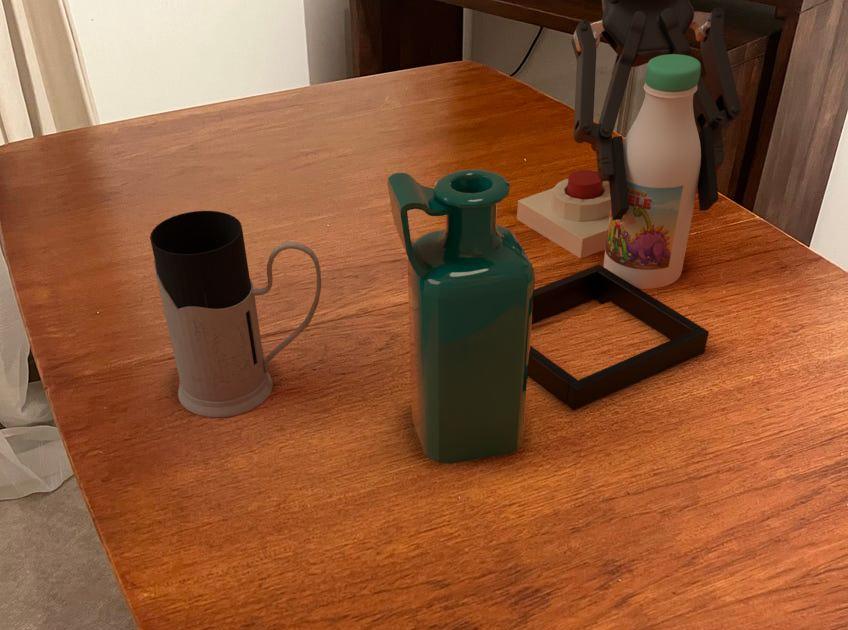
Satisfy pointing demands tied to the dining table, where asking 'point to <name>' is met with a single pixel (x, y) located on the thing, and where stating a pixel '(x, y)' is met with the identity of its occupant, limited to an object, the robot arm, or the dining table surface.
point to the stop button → (584, 185)
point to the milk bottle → (658, 178)
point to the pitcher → (465, 317)
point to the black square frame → (578, 393)
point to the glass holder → (216, 312)
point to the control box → (568, 218)
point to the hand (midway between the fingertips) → (664, 209)
